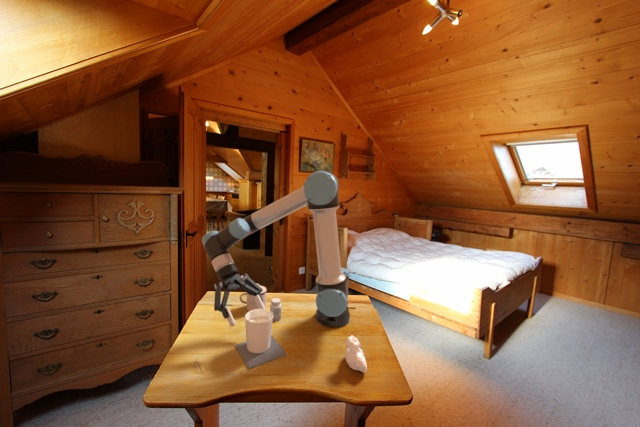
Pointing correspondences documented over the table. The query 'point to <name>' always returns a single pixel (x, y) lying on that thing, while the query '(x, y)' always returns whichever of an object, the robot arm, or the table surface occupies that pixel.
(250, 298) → the teacup with lid
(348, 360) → the bust
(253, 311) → the candle holder
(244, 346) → the gray tile
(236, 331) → the table surface
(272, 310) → the pill bottle
